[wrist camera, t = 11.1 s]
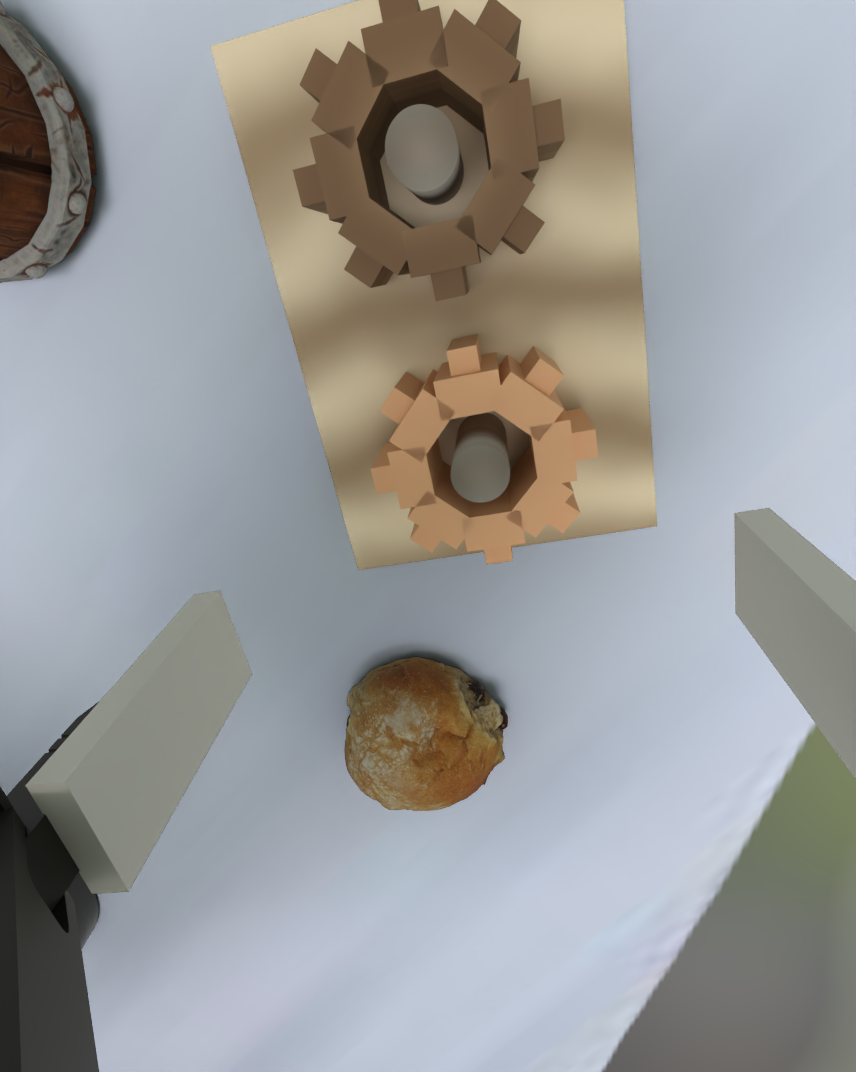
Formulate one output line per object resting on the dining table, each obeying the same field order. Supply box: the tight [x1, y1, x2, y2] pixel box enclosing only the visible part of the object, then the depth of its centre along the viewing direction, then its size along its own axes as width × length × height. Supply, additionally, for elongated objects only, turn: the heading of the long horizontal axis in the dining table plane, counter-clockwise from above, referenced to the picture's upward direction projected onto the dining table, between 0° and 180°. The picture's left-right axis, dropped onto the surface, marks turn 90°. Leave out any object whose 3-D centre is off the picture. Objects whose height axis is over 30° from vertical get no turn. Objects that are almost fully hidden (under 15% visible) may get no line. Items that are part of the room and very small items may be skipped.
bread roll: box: [345, 657, 508, 811], centre depth 38 cm, size 10×10×8 cm
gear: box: [370, 334, 598, 564], centre depth 28 cm, size 10×10×5 cm
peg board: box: [210, 0, 657, 570], centre depth 26 cm, size 24×16×8 cm, turn 12°
